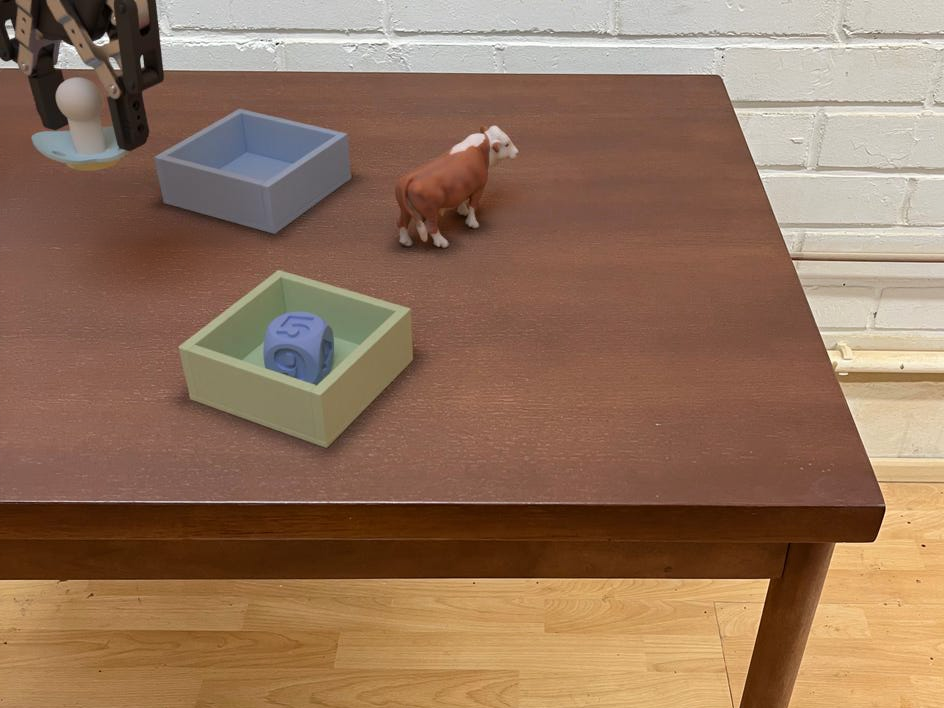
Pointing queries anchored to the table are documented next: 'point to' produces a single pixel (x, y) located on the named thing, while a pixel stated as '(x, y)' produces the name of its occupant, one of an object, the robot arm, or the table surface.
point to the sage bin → (286, 398)
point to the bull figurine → (450, 183)
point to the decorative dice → (299, 346)
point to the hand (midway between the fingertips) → (95, 135)
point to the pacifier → (80, 130)
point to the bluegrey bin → (254, 169)
